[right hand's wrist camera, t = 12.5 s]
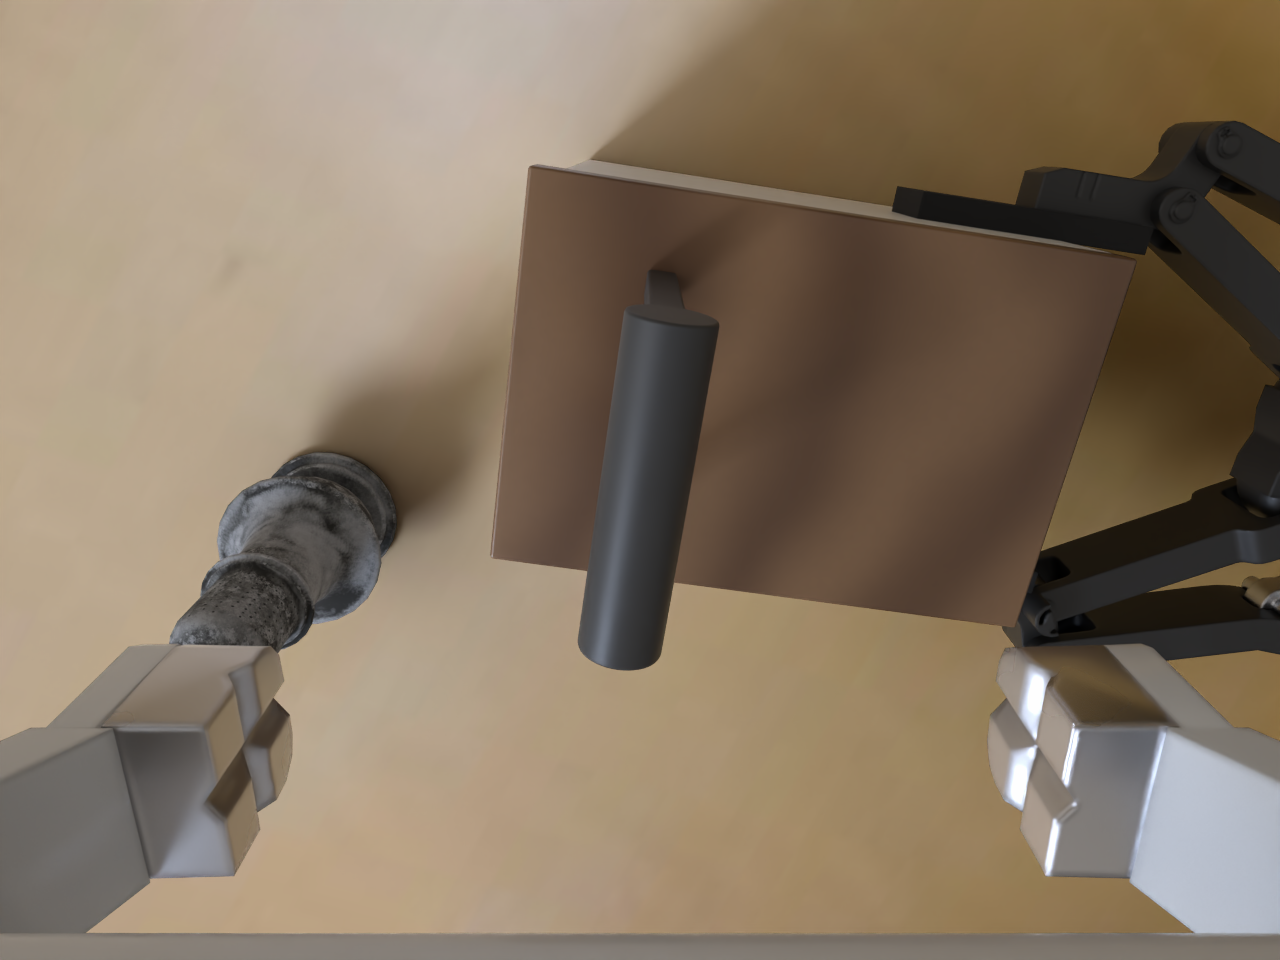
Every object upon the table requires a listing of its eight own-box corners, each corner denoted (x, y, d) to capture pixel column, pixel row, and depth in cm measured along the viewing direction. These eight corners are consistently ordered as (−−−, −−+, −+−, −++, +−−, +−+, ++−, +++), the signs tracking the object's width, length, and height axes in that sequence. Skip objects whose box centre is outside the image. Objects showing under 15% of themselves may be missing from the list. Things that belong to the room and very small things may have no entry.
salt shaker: (279, 421, 35) (108, 556, 24) (424, 480, 36) (326, 636, 24) (238, 548, 37) (62, 728, 26) (377, 601, 38) (265, 798, 26)
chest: (555, 428, 35) (521, 543, 25) (588, 159, 32) (563, 168, 22) (899, 476, 36) (999, 607, 26) (968, 218, 32) (1114, 253, 22)
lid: (496, 540, 25) (428, 727, 17) (534, 163, 22) (471, 177, 14) (1000, 608, 26) (1159, 816, 18) (1114, 253, 22) (1376, 317, 14)
